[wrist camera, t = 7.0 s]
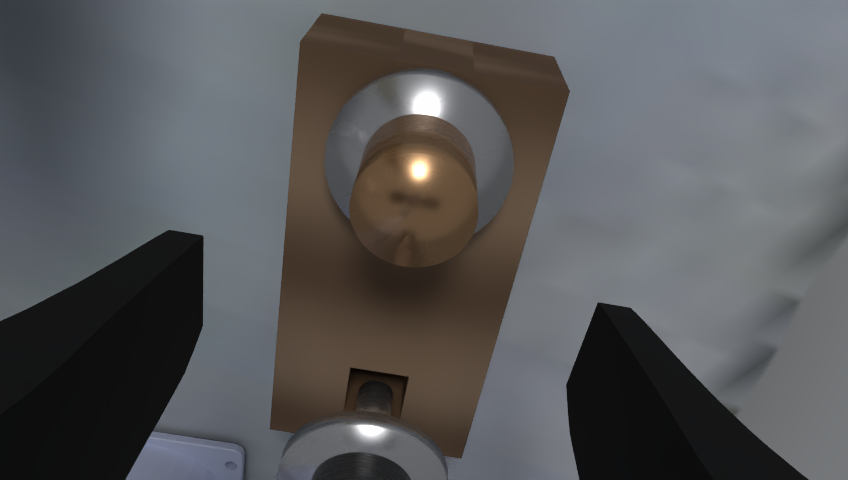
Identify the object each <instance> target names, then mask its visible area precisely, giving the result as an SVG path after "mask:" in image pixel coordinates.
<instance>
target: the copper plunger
mask: <svg viewBox="0 0 848 480" xmlns="http://www.w3.org/2000/svg"><path fill="white" fill-rule="evenodd" d="M324 166H325V175H326V178H327V182H328V186H329V188H330V191H331V193H332V196H333V198H334V199H335V201H336V203H337V205H338V206H339V208H340V209H341V210H342V212H343V213H344V214H345V215H346V216H347V217H348V218H349V219H350V220H351V224H352V227H353V229H354V232H355V234H356V235H357V237H358V239H359V240H360V241H361V243H362V244H363V245H364V246H365V247H366V248H367V249H368V250H369V251H370V252H372V253H373V254H374V255H376V256H377V257H379V258H380V259H382V260H384V261H387V262H389V263H392V264H395V265H399V266H403V267H428V266H433V265H436V264H439V263H442V262H444V261H446V260H448V259H450V258H452V257H453V256H455V255H456V254H458V253H459V252H460V251H461V250H462V249H463V248H464V247H465V246H466V245H467V244H468V242H469V241H470V239H471V238H472V236H473V234H474V233H476V232H477V231H479V230H480V229H481V228H483V227H484V226H485V225H486V224H487V223H489V221H490V220H491V219H492V218H493V217H494V216H495V215H496V214H497V212H498V211H499V209H500V208H501V206H502V205H503V203H504V201H505V199H506V197H507V195H508V192H509V189H510V186H511V183H512V178H513V170H514V158H513V149H512V143H511V139H510V135H509V131H508V128H507V125H506V123H505V120H504V118H503V117H502V115H501V113H500V111H499V110H498V108H497V107H496V106H495V104H494V103H493V102H492V101H491V99H490V98H489V97H488V96H487V95H486V94H485V93H484V92H483V91H481V90H480V89H479V88H477V87H476V86H475V85H473V84H472V83H470V82H468V81H467V80H465V79H463V78H461V77H459V76H456V75H454V74H451V73H449V72H445V71H441V70H437V69H429V68H407V69H400V70H395V71H392V72H388V73H385V74H383V75H380V76H378V77H376V78H374V79H372V80H370V81H369V82H367V83H365V84H364V85H362V86H361V87H360V88H359V89H357V90H356V91H355V92H354V93H353V94H352V95H351V96H350V97H349V98H348V99H347V100H346V101H345V103H344V104H343V106H342V107H341V109H340V110H339V112H338V114H337V116H336V118H335V120H334V122H333V124H332V126H331V129H330V132H329V135H328V138H327V141H326V146H325V154H324Z"/></svg>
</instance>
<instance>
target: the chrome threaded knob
mask: <svg viewBox="0 0 848 480" xmlns="http://www.w3.org/2000/svg"><path fill="white" fill-rule="evenodd" d="M392 401H393V391H392V389H391V388H390V386H389V385H387V384H386V383H384V382H381V381H368V382H366V383H364V384H362V385H361V386H360V388H359V391H358V396H357V402H356V408H355V411H345V412H338V413H333V414H329V415H325V416H322V417H319V418H317V419H315V420H312V421H310V422H309V423H307V424H305V425H304V426H302V427H301V428H300V429H299V430H297V431H296V432H295V433H294V434H293V435H292V437H291V438H290V439H289V441H288V442H287V444H286V446H285V448H284V451H283V454H282V458H281V461H280V465H279V469H278V474H277V480H448V468H447V463H446V460H445V457H444V455H443V453H442V451H441V450H440V448H439V446H438V445H437V444H436V443H435V442H434V440H433V439H432V438H431V437H429V436H428V435H427V434H426V433H425V432H423V431H422V430H421V429H419V428H418V427H416V426H414V425H412V424H411V423H409V422H407V421H404V420H402V419H400V418H397V417H394V416H391V410H392Z"/></svg>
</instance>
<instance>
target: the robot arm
mask: <svg viewBox="0 0 848 480" xmlns="http://www.w3.org/2000/svg"><path fill="white" fill-rule="evenodd" d="M202 327H203V236H202V235H196V234H190V233H184V232H178V231H172V230H168V231H166V232H164V233H162V234H161V235H159V236H157V237H155V238H154V239H152V240H150V241H149V242H147V243H145V244H144V245H142V246H140V247H139V248H137V249H135V250H134V251H132V252H130V253H129V254H127V255H125V256H124V257H122V258H120V259H119V260H117V261H115V262H113V263H112V264H110V265H108V266H106V267H105V268H103V269H101V270H100V271H98V272H96V273H94V274H93V275H91V276H89V277H87V278H86V279H84V280H82V281H80V282H78V283H77V284H75V285H73V286H71V287H69V288H67V289H65V290H63V291H61V292H59V293H57V294H55V295H53V296H51V297H49V298H48V299H46V300H44V301H42V302H40V303H38V304H36V305H34V306H32V307H30V308H28V309H26V310H24V311H22V312H20V313H17V314H15V315H13V316H11V317H9V318H6V319H4V320H2V321H0V480H244V465H245V451H244V449H243V448H242V447H241V446H239V445H237V444H234V443H227V442H220V441H214V440H207V439H200V438H194V437H187V436H181V435H174V434H167V433H161V432H154V431H153V430H154V428H155V426H156V424H157V422H158V421H159V419H160V417H161V415H162V413H163V412H164V410H165V408H166V406H167V404H168V403H169V401H170V399H171V397H172V395H173V394H174V392H175V390H176V388H177V386H178V384H179V383H180V381H181V379H182V377H183V375H184V373H185V371H186V368H187V366H188V363H189V361H190V358H191V356H192V353H193V351H194V348H195V345H196V343H197V340H198V337H199V335H200V332H201V329H202ZM566 387H567V403H568V417H569V428H570V436H571V441H572V446H573V451H574V456H575V461H576V465H577V470H578V475H579V479H580V480H808V479H807V478H806V477H804V476H803V475H802V474H801V473H799V472H798V471H797V470H796V469H795V468H793V467H792V466H791V465H790V464H788V463H787V462H786V461H785V460H784V459H782V458H781V457H780V456H779V455H777V454H776V453H775V452H774V451H773V450H771V449H770V448H769V447H768V446H767V445H766V444H764V443H763V442H762V441H761V440H760V439H759V438H758V437H757V436H755V435H754V434H753V433H752V432H751V431H750V430H749V429H748V428H747V427H746V426H744V425H743V424H742V423H741V422H740V421H739V420H738V419H737V418H736V417H735V416H734V415H733V414H732V413H731V412H730V411H729V410H728V409H727V408H726V407H725V406H723V405H722V404H721V403H720V402H719V401H718V400H717V399H716V398H715V397H714V396H713V395H712V394H711V393H710V392H709V391H708V390H707V388H706V387H705V386H704V385H703V384H702V383H701V382H700V381H699V380H698V379H697V378H696V377H695V376H694V375H693V374H692V373H691V372H690V371H689V370H688V369H687V368H686V366H685V365H684V364H683V363H682V362H681V361H680V360H679V359H678V358H677V357H676V356H675V355H674V353H673V352H672V351H671V350H670V349H669V348H668V347H667V346H666V345H665V344H664V342H663V341H662V340H661V339H660V338H659V337H658V336H657V335H656V334H655V333H654V332H653V330H652V329H651V328H650V327H649V326H648V325H647V324H646V323H645V322H644V321H643V320H642V319H641V318H640V317H639V316H638V315H637V314H636V313H635V312H634V311H633V310H632V309H631V308H628V307H622V306H616V305H610V304H605V303H599V302H598V304H597V306H596V309H595V312H594V314H593V317H592V319H591V322H590V325H589V327H588V330H587V332H586V335H585V338H584V340H583V343H582V345H581V348H580V351H579V353H578V356H577V358H576V361H575V364H574V366H573V369H572V372H571V374H570V377H569V379H568V382H567V385H566ZM233 462H234V463H233Z"/></svg>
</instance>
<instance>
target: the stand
mask: <svg viewBox="0 0 848 480" xmlns="http://www.w3.org/2000/svg"><path fill="white" fill-rule="evenodd" d="M407 68H429V69H437V70H441V71H445V72H449V73H451V74H454V75H456V76H459V77H461V78H463V79H465V80H467V81H468V82H470V83H472V84H473V85H475V86H476V87H477V88H479V89H480V90H481V91H483V92H484V93H485V94H486V95H487V96H488V97H489V98H490V99H491V101H492V102H493V103H494V104H495V106H496V107H497V108H498V110H499V111H500V113H501V115H502V117H503V118H504V120H505V123H506V125H507V128H508V131H509V135H510V139H511V143H512V149H513V158H514V170H513V178H512V183H511V186H510V189H509V192H508V195H507V197H506V199H505V201H504V203H503V205H502V206H501V208H500V209H499V211H498V212H497V214H496V215H495V216H494V217H493V218H492V219H491V220H490V221H489V223H487V224H486V225H485V226H484V227H483V228H481V229H480V230H479V231H477V232H476V233H474V234H473V236H472V238H471V239H470V241H469V242H468V244H467V245H466V246H465V247H464V248H463V249H462V250H461V251H460V252H459V253H458V254H456V255H455V256H453V257H452V258H450V259H448V260H446V261H444V262H442V263H439V264H436V265H433V266H428V267H403V266H399V265H395V264H392V263H389V262H387V261H384V260H382V259H380V258H379V257H377V256H376V255H374V254H373V253H372V252H370V251H369V250H368V249H367V248H366V247H365V246H364V245H363V244H362V243H361V241H360V240H359V239H358V237H357V235H356V234H355V232H354V229H353V227H352V224H351V220H350V219H349V218H348V217H347V216H346V215H345V214H344V213H343V212H342V210H341V209H340V208H339V206H338V205H337V203H336V201H335V199H334V198H333V196H332V193H331V191H330V188H329V186H328V182H327V178H326V175H325V166H324V154H325V146H326V141H327V138H328V135H329V132H330V129H331V126H332V124H333V122H334V120H335V118H336V116H337V114H338V112H339V110H340V109H341V107H342V106H343V104H344V103H345V101H346V100H347V99H348V98H349V97H350V96H351V95H352V94H353V93H354V92H355V91H356V90H357V89H359V88H360V87H361V86H362V85H364V84H365V83H367V82H369V81H370V80H372V79H374V78H376V77H378V76H380V75H383V74H385V73H388V72H392V71H395V70H400V69H407ZM569 92H570V91H569V89H568V86H567V84H566V82H565V80H564V78H563V75H562V73H561V71H560V69H559V67H558V64H557V62H556V60H555V58H554V57H552V56H547V55H541V54H536V53H531V52H525V51H520V50H515V49H509V48H504V47H499V46H493V45H488V44H483V43H477V42H472V41H466V40H461V39H456V38H450V37H445V36H440V35H434V34H429V33H424V32H418V31H413V30H408V29H402V28H397V27H392V26H386V25H381V24H376V23H370V22H365V21H360V20H354V19H349V18H344V17H338V16H333V15H328V14H321V15H320V16H319V18H318V19H317V20H316V22H315V23H314V24H313V26H312V27H311V28H310V29H309V31H308V32H307V33H306V35H305V36H304V37H303V39H302V40H301V41H300V51H299V64H298V76H297V89H296V102H295V115H294V128H293V140H292V153H291V166H290V179H289V191H288V204H287V217H286V230H285V243H284V255H283V268H282V281H281V294H280V306H279V319H278V332H277V345H276V357H275V370H274V383H273V396H272V409H271V421H270V429H272V430H278V431H285V432H291V433H295V432H296V431H297V430H299V429H300V428H301V427H302V426H304V425H305V424H307V423H309V422H310V421H312V420H315V419H317V418H319V417H322V416H325V415H329V414H333V413H338V412H345V411H355V408H356V402H357V396H358V391H359V388H360V386H361V385H362V384H364V383H366V382H368V381H381V382H384V383H386V384H387V385H389V386H390V388H391V389H392V391H393V401H392V410H391V416H394V417H397V418H400V419H402V420H404V421H407V422H409V423H411V424H412V425H414V426H416V427H418V428H419V429H421V430H422V431H423V432H425V433H426V434H427V435H428V436H429V437H431V438H432V439H433V440H434V442H435V443H436V444H437V445H438V446H439V448H440V450H441V451H442V453H443V455H444V456H449V457H455V458H462V455H463V451H464V448H465V445H466V441H467V438H468V434H469V431H470V428H471V424H472V421H473V417H474V414H475V411H476V407H477V404H478V401H479V397H480V394H481V390H482V387H483V384H484V380H485V377H486V373H487V370H488V367H489V363H490V360H491V356H492V353H493V350H494V346H495V343H496V340H497V336H498V333H499V329H500V326H501V323H502V319H503V316H504V312H505V309H506V306H507V302H508V299H509V296H510V292H511V289H512V285H513V282H514V279H515V275H516V272H517V268H518V265H519V262H520V258H521V255H522V252H523V248H524V245H525V241H526V238H527V235H528V231H529V228H530V224H531V221H532V218H533V214H534V211H535V207H536V204H537V201H538V197H539V194H540V191H541V187H542V184H543V180H544V177H545V174H546V170H547V167H548V163H549V160H550V157H551V153H552V150H553V147H554V143H555V140H556V136H557V133H558V130H559V126H560V123H561V119H562V116H563V113H564V109H565V106H566V103H567V99H568V96H569Z"/></svg>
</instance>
